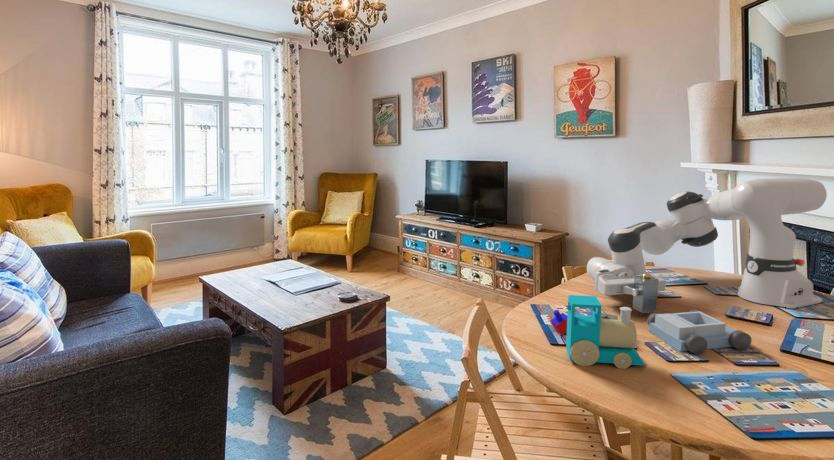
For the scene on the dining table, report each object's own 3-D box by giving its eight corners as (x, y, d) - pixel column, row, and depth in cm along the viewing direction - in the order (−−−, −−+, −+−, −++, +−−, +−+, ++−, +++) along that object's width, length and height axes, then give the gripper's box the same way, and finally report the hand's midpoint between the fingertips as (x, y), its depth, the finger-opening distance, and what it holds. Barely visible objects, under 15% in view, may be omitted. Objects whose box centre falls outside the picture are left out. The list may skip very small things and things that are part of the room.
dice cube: (593, 335, 117) (594, 318, 116) (597, 329, 121) (598, 312, 120) (614, 339, 114) (615, 322, 113) (616, 332, 118) (617, 315, 117)
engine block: (646, 306, 132) (648, 271, 130) (656, 311, 127) (658, 276, 125) (632, 307, 131) (634, 272, 129) (641, 312, 127) (644, 277, 125)
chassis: (702, 323, 123) (704, 305, 121) (753, 349, 107) (755, 328, 106) (644, 328, 120) (645, 309, 119) (686, 355, 105) (688, 334, 104)
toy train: (646, 371, 98) (651, 308, 95) (570, 365, 102) (572, 305, 99) (636, 354, 106) (640, 296, 103) (565, 350, 109) (567, 293, 106)
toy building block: (557, 335, 121) (546, 312, 119) (570, 327, 122) (558, 304, 120) (563, 340, 118) (552, 317, 116) (576, 332, 118) (565, 309, 116)
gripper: (648, 286, 143) (678, 300, 129) (590, 290, 140) (614, 305, 127) (649, 267, 141) (680, 280, 128) (591, 272, 139) (616, 285, 125)
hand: (647, 292), depth 127 cm, fingers closed on engine block, 4 cm apart
